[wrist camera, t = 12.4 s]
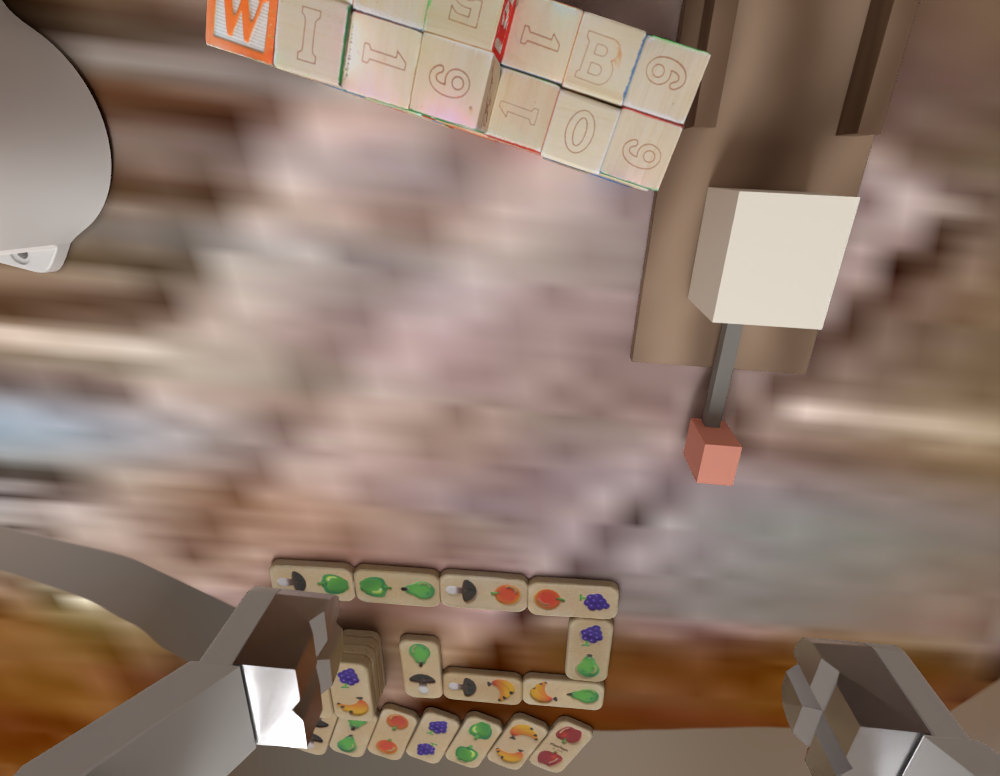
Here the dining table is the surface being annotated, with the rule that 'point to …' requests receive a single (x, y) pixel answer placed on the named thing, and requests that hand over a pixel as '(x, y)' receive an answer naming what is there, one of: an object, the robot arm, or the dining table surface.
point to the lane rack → (764, 147)
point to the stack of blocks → (488, 71)
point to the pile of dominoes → (395, 728)
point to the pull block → (759, 289)
